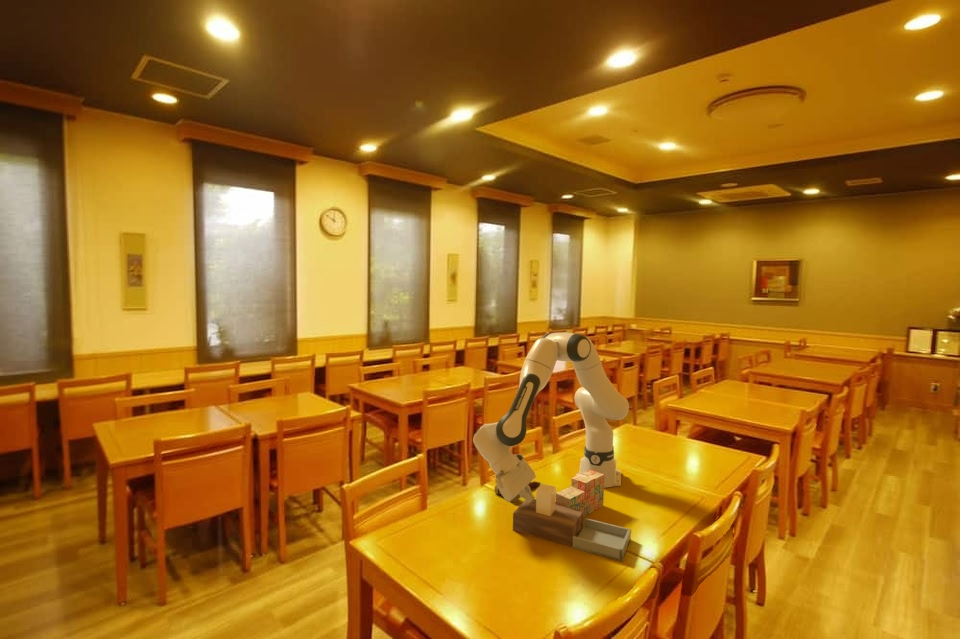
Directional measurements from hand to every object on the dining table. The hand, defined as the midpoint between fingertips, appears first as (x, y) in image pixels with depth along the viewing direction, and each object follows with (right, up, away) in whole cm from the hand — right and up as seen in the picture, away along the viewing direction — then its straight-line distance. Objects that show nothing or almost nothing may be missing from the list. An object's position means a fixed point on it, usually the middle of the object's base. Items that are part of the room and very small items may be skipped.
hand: (531, 500), depth 159 cm
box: (+21, -10, -11) cm, 25 cm away
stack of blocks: (+18, -8, +10) cm, 23 cm away
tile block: (+4, -3, -2) cm, 6 cm away
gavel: (-1, -7, +27) cm, 28 cm away
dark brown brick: (+5, -9, -2) cm, 10 cm away
